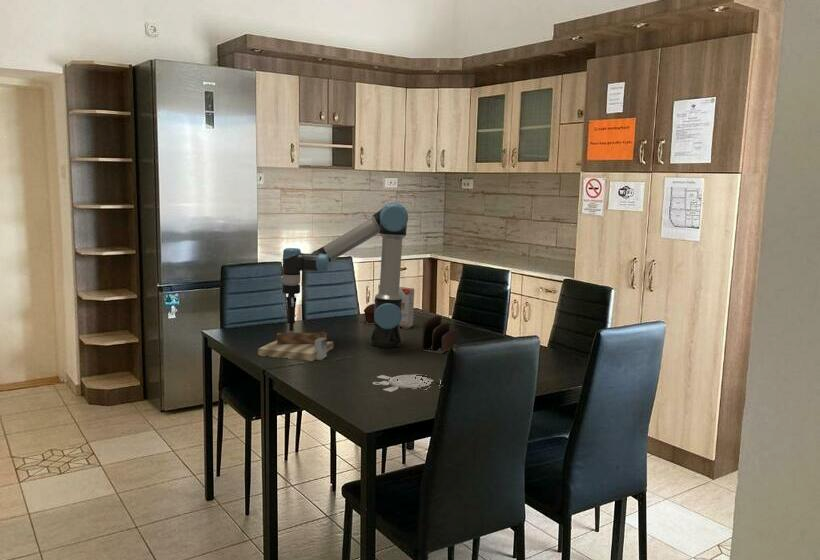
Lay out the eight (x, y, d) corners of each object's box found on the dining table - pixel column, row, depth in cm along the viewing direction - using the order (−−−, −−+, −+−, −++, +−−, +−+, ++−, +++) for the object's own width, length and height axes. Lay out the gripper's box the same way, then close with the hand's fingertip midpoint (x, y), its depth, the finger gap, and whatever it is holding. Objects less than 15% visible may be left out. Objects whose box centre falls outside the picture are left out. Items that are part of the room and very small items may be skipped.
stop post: (326, 356, 279) (327, 338, 278) (321, 360, 274) (321, 341, 273) (319, 356, 280) (320, 337, 279) (314, 359, 274) (314, 340, 273)
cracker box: (384, 326, 347) (385, 286, 345) (389, 324, 353) (391, 285, 350) (407, 329, 341) (409, 289, 338) (413, 327, 346) (414, 287, 344)
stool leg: (326, 341, 294) (326, 331, 293) (326, 343, 289) (327, 333, 289) (277, 341, 290) (277, 331, 289) (277, 344, 285) (277, 333, 285)
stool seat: (333, 348, 294) (333, 341, 294) (312, 361, 271) (312, 354, 271) (283, 343, 300) (283, 337, 300) (258, 355, 277) (258, 348, 277)
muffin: (381, 325, 348) (382, 307, 347) (361, 324, 351) (361, 305, 349) (386, 321, 360) (387, 303, 359) (366, 320, 362) (367, 302, 361)
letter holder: (421, 351, 295) (422, 320, 293) (438, 343, 313) (439, 313, 311) (442, 354, 291) (443, 322, 289) (458, 345, 309) (459, 316, 307)
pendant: (454, 392, 238) (454, 388, 238) (376, 393, 233) (376, 390, 233) (440, 375, 259) (440, 372, 259) (368, 377, 254) (368, 373, 253)
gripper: (281, 281, 293) (280, 334, 296) (283, 286, 281) (283, 341, 284) (298, 281, 295) (297, 334, 298) (301, 286, 283) (301, 340, 286)
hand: (290, 337), depth 291 cm, fingers closed
